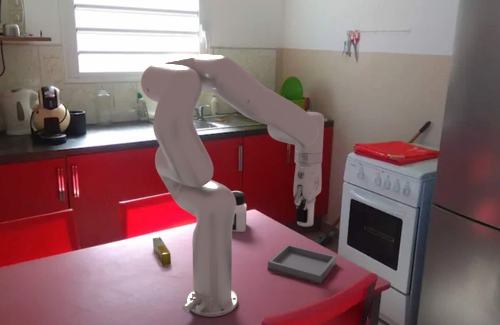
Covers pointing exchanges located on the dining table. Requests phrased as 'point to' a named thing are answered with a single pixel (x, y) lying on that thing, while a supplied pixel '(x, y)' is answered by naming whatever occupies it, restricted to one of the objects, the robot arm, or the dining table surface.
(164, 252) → the medication box
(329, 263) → the tray
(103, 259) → the dining table surface
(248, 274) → the dining table surface
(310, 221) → the mushroom
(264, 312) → the dining table surface
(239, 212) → the container
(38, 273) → the dining table surface
